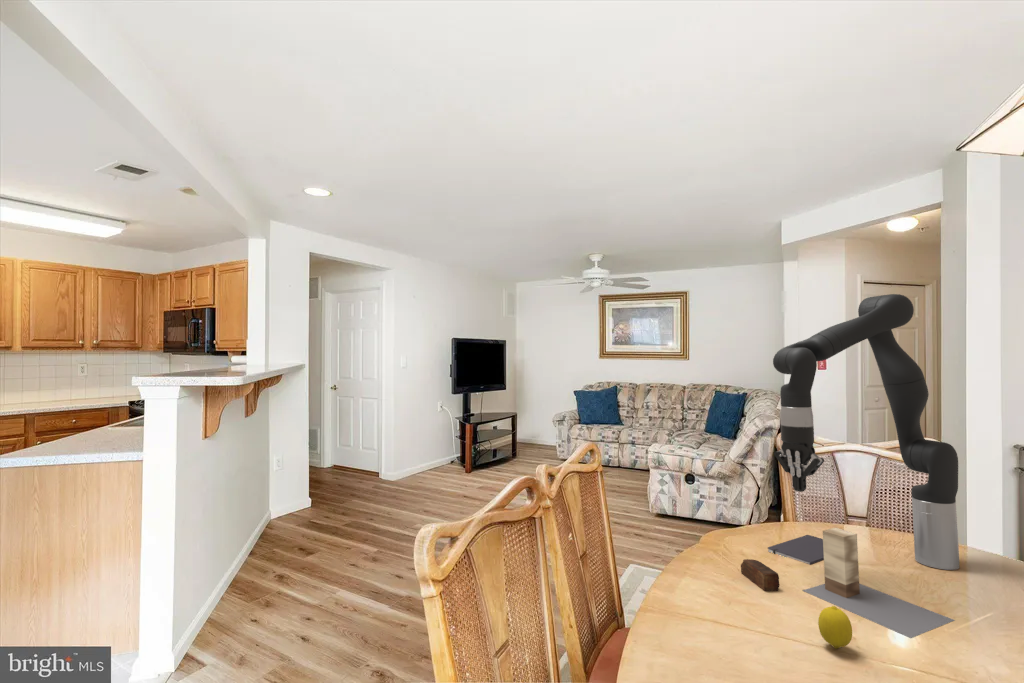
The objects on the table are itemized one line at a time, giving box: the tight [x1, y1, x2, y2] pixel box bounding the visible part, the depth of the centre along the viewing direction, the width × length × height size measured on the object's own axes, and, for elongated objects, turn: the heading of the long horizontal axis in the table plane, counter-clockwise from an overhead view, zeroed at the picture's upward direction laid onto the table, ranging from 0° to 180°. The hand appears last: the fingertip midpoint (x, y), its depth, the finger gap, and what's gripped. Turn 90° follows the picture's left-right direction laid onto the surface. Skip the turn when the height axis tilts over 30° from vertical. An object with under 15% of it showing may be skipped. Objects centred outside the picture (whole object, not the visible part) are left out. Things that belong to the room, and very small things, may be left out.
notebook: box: [767, 534, 824, 565], centre depth 145 cm, size 13×2×21 cm
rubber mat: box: [802, 583, 956, 639], centre depth 112 cm, size 16×23×1 cm
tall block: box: [822, 527, 860, 598], centre depth 119 cm, size 5×5×14 cm
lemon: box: [817, 605, 853, 650], centre depth 96 cm, size 6×6×8 cm
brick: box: [740, 558, 780, 593], centre depth 124 cm, size 11×4×5 cm, turn 5°
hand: (799, 490), depth 128 cm, fingers closed
